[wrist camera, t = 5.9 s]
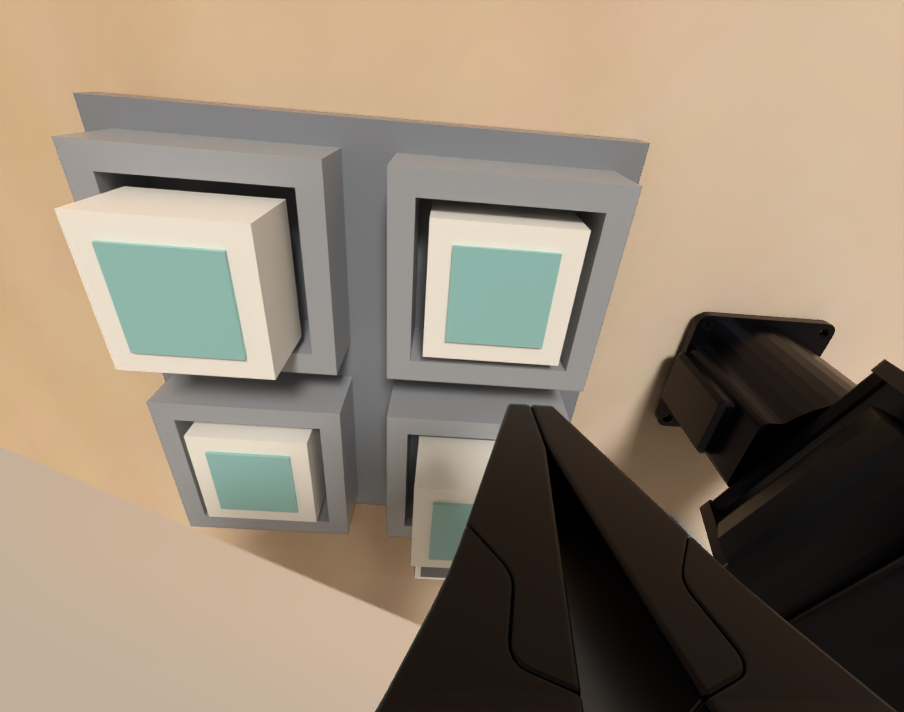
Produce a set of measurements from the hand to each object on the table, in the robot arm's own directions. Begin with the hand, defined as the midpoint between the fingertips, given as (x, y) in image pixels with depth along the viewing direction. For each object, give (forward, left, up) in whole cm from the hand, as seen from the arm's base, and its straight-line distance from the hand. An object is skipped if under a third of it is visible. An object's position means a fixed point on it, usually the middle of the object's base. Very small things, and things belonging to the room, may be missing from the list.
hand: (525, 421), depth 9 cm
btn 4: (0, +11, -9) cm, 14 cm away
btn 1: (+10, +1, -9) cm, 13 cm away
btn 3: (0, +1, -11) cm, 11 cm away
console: (+5, +6, -12) cm, 14 cm away
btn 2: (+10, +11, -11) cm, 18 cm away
